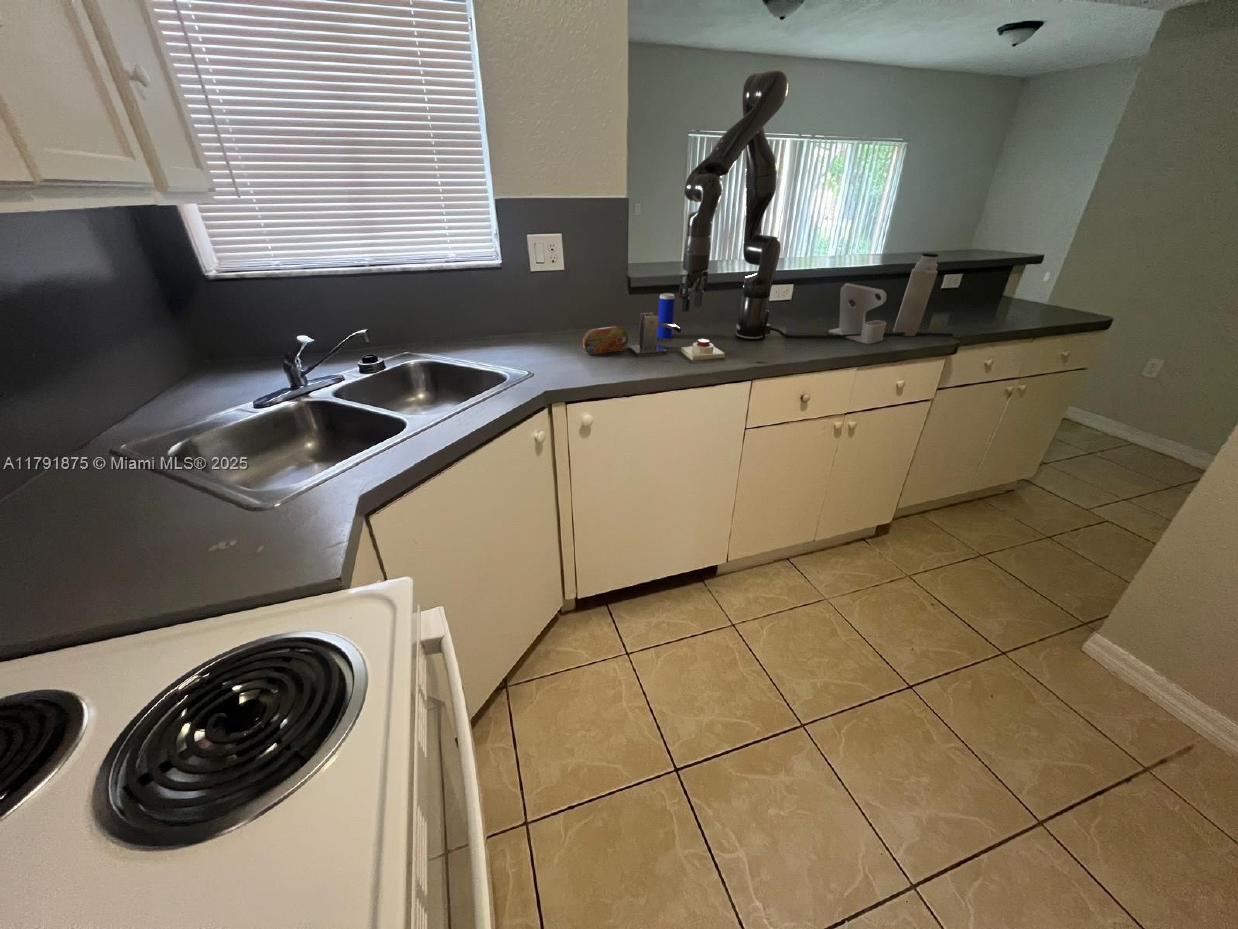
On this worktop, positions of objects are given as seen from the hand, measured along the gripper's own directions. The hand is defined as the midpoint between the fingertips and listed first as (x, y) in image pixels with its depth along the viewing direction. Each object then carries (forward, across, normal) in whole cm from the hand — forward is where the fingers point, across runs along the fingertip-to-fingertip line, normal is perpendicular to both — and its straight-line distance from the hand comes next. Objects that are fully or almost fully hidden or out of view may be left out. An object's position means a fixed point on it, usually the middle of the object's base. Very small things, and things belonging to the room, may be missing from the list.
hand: (691, 309), depth 150 cm
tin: (+14, -17, +21) cm, 30 cm away
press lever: (+6, -3, +9) cm, 11 cm away
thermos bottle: (+14, +72, -55) cm, 92 cm away
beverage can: (+14, +9, +14) cm, 22 cm away
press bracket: (+14, -7, +11) cm, 19 cm away
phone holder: (+14, +56, -41) cm, 70 cm away
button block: (+14, -1, -6) cm, 15 cm away
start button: (+10, -1, -6) cm, 12 cm away
